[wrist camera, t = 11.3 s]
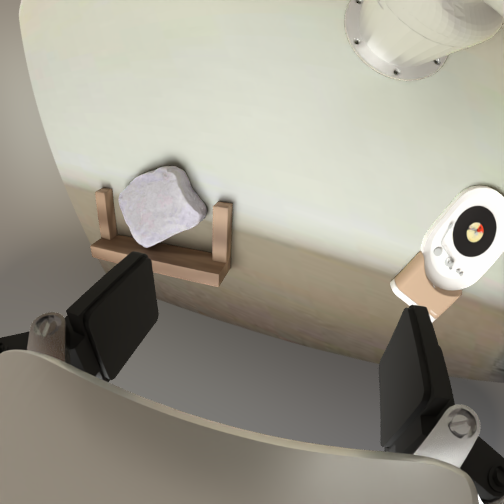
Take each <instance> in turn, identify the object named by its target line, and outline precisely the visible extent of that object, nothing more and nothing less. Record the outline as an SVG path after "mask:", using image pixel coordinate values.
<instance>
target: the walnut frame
mask: <svg viewBox="0 0 504 504" xmlns="http://www.w3.org/2000/svg"><path fill="white" fill-rule="evenodd" d="M95 195H96V203H97V211H98V219H99V225H100V232H101V239H99V240H98V241H96V242H95V243H94V244H92V245H91V246H90V247H91V252H92V257H95V258H98V259H102V260H106V261H110V262H114V263H119V262H120V261H121V260H122V259H124V258H125V257H126V256H127V255H128V254H129V253H131V252H132V251H135V252H140V253H145V254H147V255H148V258H150V259H151V261H152V269H153V272H155V273H159V274H163V275H167V276H171V277H176V278H180V279H184V280H189V281H193V282H198V283H202V284H207V285H211V286H216V287H219V286H220V284H221V282H222V281H223V279H224V278H225V276H226V274H227V273H228V271H229V269H230V258H231V232H232V208H233V203H226V202H219V201H218V202H217V203H216V204H215V205H214V206H213V248H212V253H210V252H204V251H199V250H194V249H189V248H183V247H178V246H173V245H168V244H163V243H157V244H155V245H153V246H151V247H148V248H146V247H143V245H140V244H139V243H138V242H137V241H136V240H135V239H134V238H132V237H126V236H121V235H117V228H116V220H115V212H114V203H113V193H112V189H108V188H102V189H100V190H98V191H96V192H95Z"/></svg>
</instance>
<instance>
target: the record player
mask: <svg viewBox="0 0 504 504" xmlns="http://www.w3.org/2000/svg"><path fill="white" fill-rule="evenodd" d="M503 251H504V197H503V196H502V195H501V194H500V193H499V192H497V191H496V190H494V189H493V188H490V187H488V186H482V185H478V186H472V187H469V188H467V189H465V190H463V191H461V192H460V193H459V194H458V195H457V196H456V197H455V198H454V199H453V200H452V201H451V203H450V204H449V205H448V206H447V207H446V208H445V210H444V211H443V212H442V213H441V214H440V216H439V217H438V218H437V219H436V220H435V222H434V223H433V224H432V225H431V227H430V228H429V229H428V231H427V232H426V234H425V236H424V238H423V241H422V244H421V249H420V252H419V253H418V254H417V255H416V256H415V257H414V258H413V259H412V260H411V261H410V262H409V263H408V265H407V266H406V267H405V268H404V269H403V270H402V271H401V272H400V273H399V274H398V275H397V276H396V277H395V278H394V279H393V280H392V281H391V282H390V285H391V288H392V290H393V292H394V293H395V294H396V295H397V296H398V297H399V298H401V299H402V300H403V301H405V302H406V303H407V304H408V305H418V306H424V307H427V309H428V312H429V315H430V319H431V322H433V321H434V320H435V319H437V318H438V317H439V316H440V315H441V314H442V313H443V312H444V311H445V310H446V309H447V308H448V307H450V306H451V305H452V304H453V303H454V302H455V301H456V300H457V299H458V298H459V297H460V296H461V295H462V290H461V289H464V288H466V287H468V286H470V285H472V284H474V283H475V282H476V281H477V280H478V279H479V278H480V277H481V276H482V275H483V274H484V273H485V272H486V271H487V270H488V269H489V268H490V267H491V266H492V265H493V263H494V262H495V261H496V260H497V259H498V258H499V256H500V255H501V254H502V253H503Z"/></svg>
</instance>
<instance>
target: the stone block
mask: <svg viewBox="0 0 504 504" xmlns="http://www.w3.org/2000/svg"><path fill="white" fill-rule="evenodd" d="M119 205H120V208H121V210H122V213H123V216H124V218H125V221H126V224H127V225H128V226H129V228H130V231H131V233H132V235H133V237H134V239H135V240H136V241H137V242H138V243H139V244H140V245H143V247H146V248H148V247H151V246H153V245H155V244H157V243H159V242H161V241H163V240H165V239H167V238H169V237H171V236H173V235H175V234H177V233H179V232H182V231H184V230H188V229H190V228H192V227H194V226H196V225H197V224H199V223H200V222H201V221H202V220H203V219H204V218H205V216H206V213H207V210H206V206H205V204H204V203H203V201H202V200H201V198H200V197H199V196H198V195H197V193H196V192H195V191H194V190H193V189H192V187H191V184H190V180H189V178H188V176H187V175H186V173H185V171H184V170H182V169H180V168H178V167H175V166H164V167H160V168H158V169H156V170H153V171H149V172H146V173H144V174H141V175H139V176H137V177H135V178H134V179H133V180H132V181H131V183H130V184H129V185H127V187H126V188H125V189H124V190H123V191H122V192H121V193H120V195H119Z"/></svg>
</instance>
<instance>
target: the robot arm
mask: <svg viewBox="0 0 504 504" xmlns="http://www.w3.org/2000/svg"><path fill="white" fill-rule="evenodd" d="M357 1H359V2H360V3H361V4H358V3H357ZM503 22H504V0H351V1H350V2H349V4H348V7H347V9H346V13H345V22H344V25H345V31H346V35H347V38H348V41H349V43H350V45H351V46H352V48H353V50H354V52H355V53H356V54H357V55H358V56H359V58H360V59H361V60H362V61H363V62H364V63H366V64H367V65H368V66H369V67H370V68H372V69H373V70H375V71H377V72H378V73H380V74H382V75H385V76H387V77H390V78H393V79H397V80H404V81H412V80H419V79H424V78H426V77H429V76H431V75H433V74H434V73H435V72H437V71H438V70H439V69H440V68H441V67H442V66H443V64H444V63H445V61H446V59H447V56H448V55H449V54H451V53H454V52H457V51H460V50H462V49H465V48H468V47H471V46H474V45H477V44H479V43H482V42H484V41H487V40H488V39H490V38H492V37H493V36H494V35H495V34H496V33H497V32H498V31H499V30H500V28H501V27H502V25H503ZM355 41H358V42H359V44H355ZM434 60H435V61H436V62H437V64H435V63H434ZM394 71H397V73H398V74H397V75H395V74H394ZM66 312H67V315H68V316H67V317H66V318H64V317H63V315H61V314H59V313H55V312H49V313H45V314H42V315H40V316H39V317H37V318H36V319H35V320H34V321H33V323H32V324H31V327H30V332H26V333H21V334H16V335H12V336H7V337H2V338H0V504H504V458H503V457H502V456H501V455H500V454H498V453H497V452H496V451H495V450H494V449H493V448H492V447H490V446H489V445H488V444H487V443H486V442H485V441H483V440H482V439H481V438H480V437H479V436H478V435H479V432H480V421H479V418H478V416H477V414H476V413H475V412H474V411H473V410H472V409H471V408H469V407H467V406H465V405H461V404H459V405H455V404H454V399H453V394H452V389H451V385H450V380H449V376H448V372H447V368H446V364H445V361H444V357H443V353H442V350H441V348H440V346H439V345H438V342H437V338H436V335H435V331H434V328H433V325H432V322H431V319H430V315H429V312H428V309H427V307H424V306H418V305H410V307H409V308H405V309H404V311H403V313H402V315H401V318H400V320H399V322H398V324H397V327H396V329H395V331H394V333H393V335H392V338H391V340H390V342H389V344H388V346H387V348H386V350H385V352H384V354H383V356H382V358H381V361H380V364H379V382H380V413H381V446H382V447H385V452H384V451H370V450H360V449H351V448H342V447H334V446H327V445H320V444H313V443H307V442H301V441H295V440H289V439H284V438H279V437H274V436H269V435H265V434H261V433H256V432H252V431H248V430H243V429H239V428H236V427H232V426H228V425H225V424H221V423H217V422H214V421H211V420H207V419H204V418H201V417H197V416H194V415H191V414H188V413H185V412H182V411H179V410H176V409H173V408H170V407H168V406H165V405H162V404H159V403H157V402H154V401H151V400H149V399H146V398H144V397H141V396H138V395H136V394H134V393H131V392H129V391H126V390H124V389H122V388H119V387H117V386H115V385H113V384H110V383H108V382H109V381H110V380H113V379H114V378H115V377H116V376H117V374H118V373H119V372H120V370H121V369H122V367H123V366H124V365H125V363H126V362H127V361H128V359H129V358H130V357H131V355H132V354H133V352H134V351H135V349H136V348H137V347H138V346H139V344H140V343H141V342H142V340H143V339H144V338H145V336H146V335H147V333H148V332H149V331H150V329H151V328H152V327H153V325H154V324H155V323H156V321H157V319H158V307H157V300H156V292H155V285H154V277H153V269H152V261H151V259H150V258H148V255H147V254H145V253H140V252H135V251H132V252H131V253H129V254H128V255H127V256H126V257H125V258H124V259H122V260H121V261H120V262H119V263H118V264H117V265H116V266H114V267H113V268H112V269H111V270H110V271H109V272H108V273H106V274H105V275H104V276H103V277H102V278H101V279H100V280H99V281H98V282H96V283H95V284H94V285H93V286H92V287H91V288H90V289H89V290H88V291H87V292H85V294H83V295H82V296H81V297H80V298H79V299H78V300H77V301H76V302H75V303H74V304H73V305H72V306H71V307H69V308H68V309H67V310H66Z"/></svg>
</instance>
